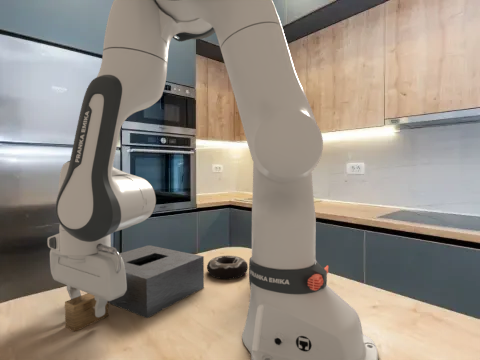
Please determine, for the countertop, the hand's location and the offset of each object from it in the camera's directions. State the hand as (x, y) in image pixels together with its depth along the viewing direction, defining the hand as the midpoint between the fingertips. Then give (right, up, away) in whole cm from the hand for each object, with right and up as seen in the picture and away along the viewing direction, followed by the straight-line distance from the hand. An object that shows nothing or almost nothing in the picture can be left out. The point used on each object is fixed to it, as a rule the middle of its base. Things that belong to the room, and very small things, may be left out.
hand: (87, 310), depth 59 cm
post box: (+8, -2, +14) cm, 16 cm away
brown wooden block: (0, -2, 0) cm, 2 cm away
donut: (+26, -1, +27) cm, 38 cm away
